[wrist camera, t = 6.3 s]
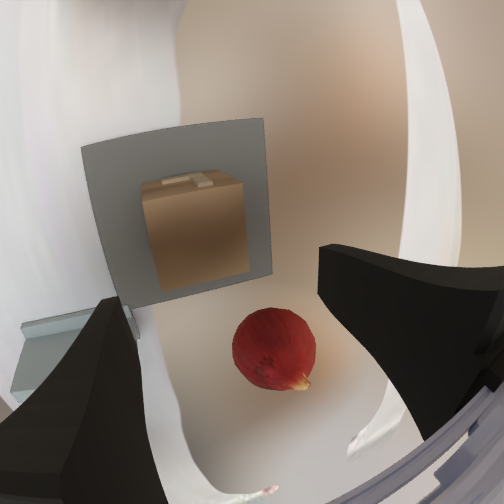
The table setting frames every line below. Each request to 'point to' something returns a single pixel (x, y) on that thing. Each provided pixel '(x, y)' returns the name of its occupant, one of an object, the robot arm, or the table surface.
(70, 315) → the screen
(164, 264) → the taped cardboard box
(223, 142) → the grey square plate
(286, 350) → the onion
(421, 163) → the table surface
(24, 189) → the table surface
